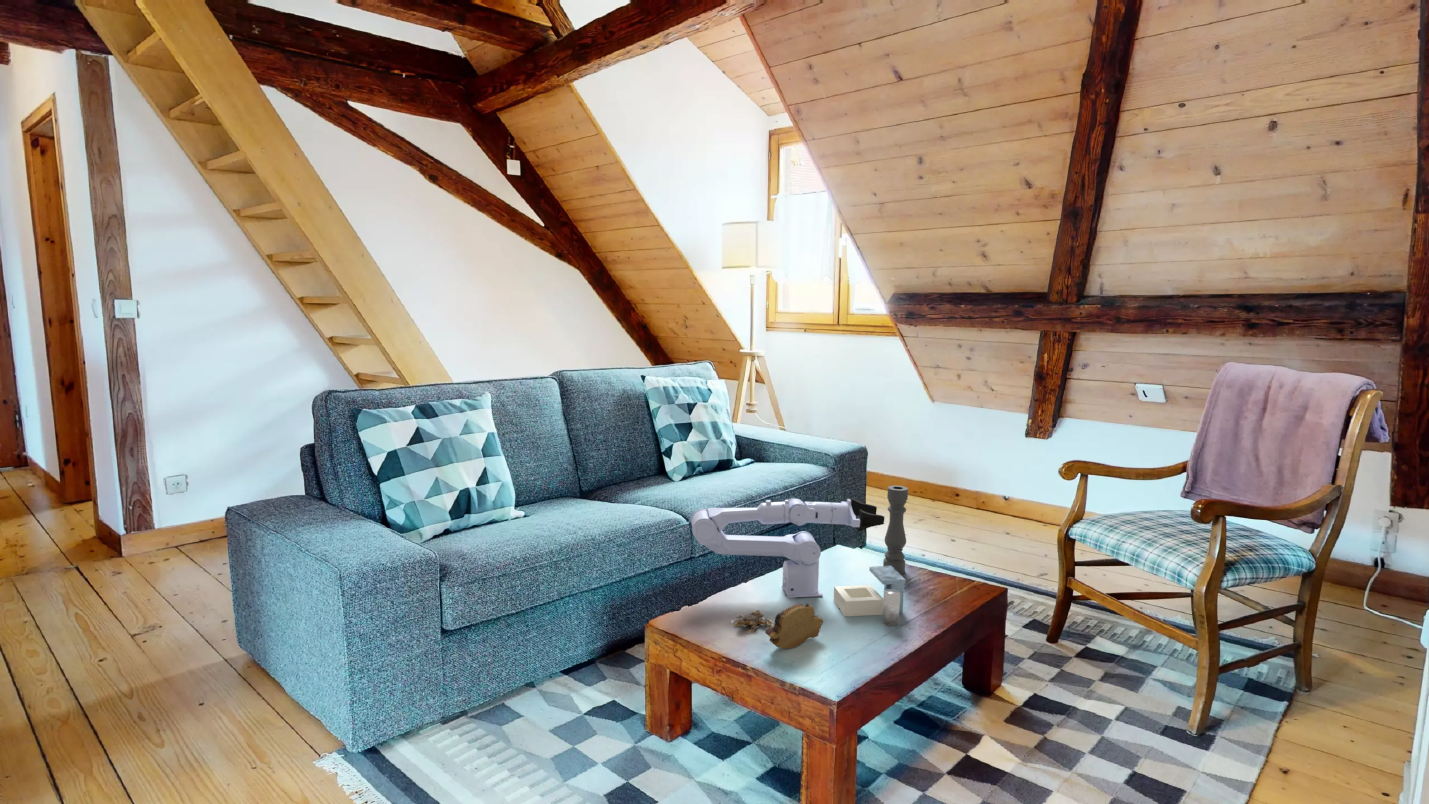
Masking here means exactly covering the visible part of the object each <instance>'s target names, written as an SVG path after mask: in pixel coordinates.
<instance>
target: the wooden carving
mask: <svg viewBox="0 0 1429 804" xmlns="http://www.w3.org/2000/svg"><path fill="white" fill-rule="evenodd" d="M774 622H775V623H774V624H773V625H774V626H772V627H770V628H769V629H766V630H765V632H764V633H765V634H766V635H767V636H768V637H769V642H770V643H772V645H774V646H775V647H777V648H780V649H784V650H785V649H786V650H790V649H794V648H795V649H796V648H797V647H799V646H801V645H802V644H804V643H805V642H806V641H808V639H814V638H816V637H818V636H819V634H820V629H822V625H823V623H824V619H823V618H821V617H819V616H818V615H815V609H814V606H813V605H812V604H809V603H805V604H801V603H800V604H798V603H796V604H793V605H791V606H788V607H787V608H784V609H783V610H781V612H777V614H776V616H775V618H774Z"/></svg>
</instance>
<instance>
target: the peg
mask: <svg viewBox="0 0 1429 804" xmlns="http://www.w3.org/2000/svg"><path fill="white" fill-rule="evenodd" d="M882 595H883V597H882V598H883V615H882V617H881V618H882V620H881V621H882V622H881V624H883V625H885V626H888V627H897V626H899V623H900V613H899V608H900V592H899V591H898V590H894V589H886V590H884V589H883V594H882Z"/></svg>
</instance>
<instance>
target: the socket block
mask: <svg viewBox="0 0 1429 804" xmlns="http://www.w3.org/2000/svg"><path fill="white" fill-rule="evenodd" d="M833 602H834V604H835V605H836V604H837V605H836V606H837V608H838V609H839V608H840V609H839V610H840V611H841V613H842V612H843V613H842V614H843V616H844V617H857V616H858V617H859V616H860V617H861V616H863V617H865V616H877V615H878V616H881V615H882V616H883V597H882V596H881V594H879V592H878V591H877V590H876V589H875V588H874V587H873V586H872V584H859V585H858V584H855V585H841V586H840V585H837V586H833Z"/></svg>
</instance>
